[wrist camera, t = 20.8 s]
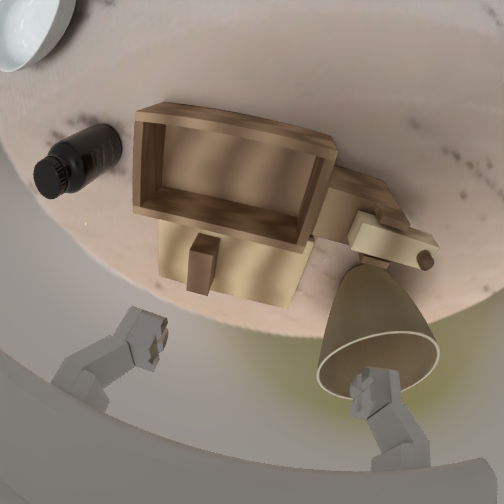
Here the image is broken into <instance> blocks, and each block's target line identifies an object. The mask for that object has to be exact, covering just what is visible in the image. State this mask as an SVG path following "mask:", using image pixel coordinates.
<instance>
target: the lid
mask: <svg viewBox="0 0 504 504" xmlns="http://www.w3.org/2000/svg"><path fill="white" fill-rule="evenodd" d="M313 245H314V238H311V237H309V238H308V241H307V244H306V247H305V249H304V252H303V254H299V253H295V252H291V251H287V250H283V249H279V248H275V247H271V246H267V245H263V244H259V243H255V242H251V241H247V240H243V239H239V238H235V237H231V236H227V235H223V234H219V233H215V232H210V231H206V230H202V229H198V228H194V227H190V226H186V225H182V224H177V223H173V222H169V221H165V220H161V219H159V242H158V256H159V276H161V277H165V278H168V279H172V280H175V281H179V282H183V283H186V284H187V291H191V292H195V293H198V294H202V295H206V296H208V293H209V290H212V291H216V292H220V293H224V294H228V295H232V296H236V297H240V298H244V299H248V300H252V301H256V302H260V303H265V304H269V305H273V306H278V307H282V308H286V309H288V307H289V305H290V302H291V300H292V297H293V295H294V293H295V290H296V288H297V285H298V283H299V280H300V278H301V276H302V273H303V271H304V268H305V266H306V263H307V261H308V258H309V255H310V253H311V250H312V248H313Z"/></svg>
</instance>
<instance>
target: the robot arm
mask: <svg viewBox="0 0 504 504" xmlns="http://www.w3.org/2000/svg"><path fill="white" fill-rule="evenodd" d="M167 323H168V321H167V318H165V317H162V316H159V315H157V314H154V313H151V312H148V311H145V310H143V309H140V308H137V307H134V306H132V307H131V308H129V310H128V311H127V313H126V315H125V316H124V318H123V320H122V321H121V323H120V324H119V326H118V328H117V330H116V331H115V333H114V335H113V336H111V335H109V336H107V337H105V338H103V339H101V340H99V341H97V342H96V343H93V344H91V345H89V346H88V347H86V348H84V349H82V350H80V351H78V352H76V353H74V354H72V355H70V356H69V357H67V358H65V359H64V361H63V363H62V364H61V366H60V368H59V369H58V371H57V373H56V375H55V376H54V378H53V380H52V381H51V383H49V382H47V381H46V380H44V379H43V378H41V377H39V376H38V375H36V374H35V373H33V372H32V371H30V370H29V369H27V368H26V367H25V366H23V365H22V364H20V363H19V362H17V361H16V360H15V359H13V358H12V357H11V356H9V355H8V354H7V353H5V352H4V351H3V350H2V349H0V504H497V478H496V475H495V473H494V471H493V469H492V468H491V466H490V465H489V463H488V462H487V461H486V459H484V458H477V459H472V460H468V461H463V462H458V463H452V464H447V465H441V466H434V467H431V466H430V445H429V440H428V438H427V437H426V435H425V434H424V432H423V431H422V429H421V428H420V426H419V425H418V423H417V422H416V420H415V419H414V417H413V416H412V414H411V413H410V411H409V410H408V408H407V407H406V405H405V404H402V396H401V387H400V378H399V373H398V371H397V370H391V369H385V368H377V367H370V366H366V367H364V368H363V369H362V370H361V371H362V373H361V374H358V375H356V376H355V378H354V379H353V381H352V383H351V387H350V396H351V397H352V399H353V401H352V402H351V403H350V418H358V419H367V420H366V421H367V423H368V425H369V427H370V429H371V431H372V433H373V435H374V437H375V440H376V442H377V444H378V446H379V448H380V450H381V452H382V454H380V455H378V456H376V457H374V458H373V459H372V460H371V471H370V472H352V471H326V470H313V469H302V468H293V467H285V466H277V465H271V464H265V463H259V462H254V461H249V460H244V459H239V458H234V457H229V456H225V455H222V454H217V453H214V452H210V451H206V450H202V449H199V448H195V447H192V446H188V445H185V444H182V443H179V442H176V441H173V440H170V439H167V438H164V437H161V436H159V435H156V434H153V433H151V432H148V431H145V430H143V429H140V428H138V427H135V426H133V425H130V424H128V423H126V422H123V421H121V420H119V419H117V418H114V417H112V416H110V415H108V414H106V413H105V411H106V409H107V407H108V404H109V402H110V401H109V398H108V397H107V395H106V393H105V392H104V390H103V389H104V388H105V387H106V386H108V385H109V384H111V383H112V382H113V381H115V380H117V379H118V378H120V377H121V376H122V375H124V374H125V373H126V372H128V371H129V370H131V369H132V368H134V367H135V366H137V367H140V368H143V369H146V370H149V371H152V372H154V370H155V368H156V365H157V363H158V361H159V353H160V352H162V351H163V350H164V348H165V345H166V342H167V338H168V329H167V328H166V326H167Z"/></svg>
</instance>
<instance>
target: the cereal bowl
mask: <svg viewBox="0 0 504 504" xmlns="http://www.w3.org/2000/svg"><path fill="white" fill-rule="evenodd" d="M75 3H76V0H0V70H1V71H3V72H15V71H18V70H22V69H24V68H27V67H29V66H31V65H33V64H35V63H37V62H39V61H40V60H41V59H43V58H44V57H45V56H46V55H47V54H48V53H49V52H50V51H51V50H52V49H53V48H54V47H55V46H56V44H57V43H58V41H59V40H60V39H61V37H62V36H63V34H64V33H65V31H66V29H67V27H68V25H69V23H70V20H71V17H72V14H73V12H74V8H75Z"/></svg>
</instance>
